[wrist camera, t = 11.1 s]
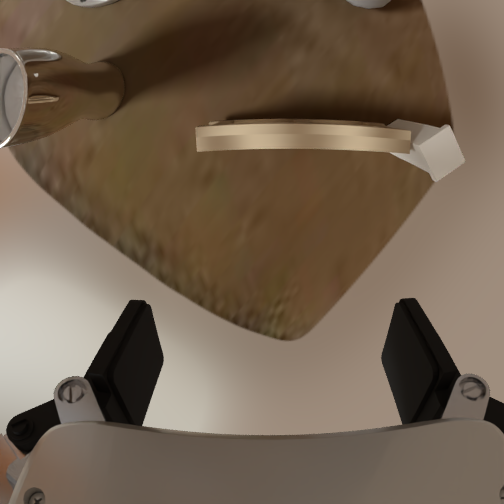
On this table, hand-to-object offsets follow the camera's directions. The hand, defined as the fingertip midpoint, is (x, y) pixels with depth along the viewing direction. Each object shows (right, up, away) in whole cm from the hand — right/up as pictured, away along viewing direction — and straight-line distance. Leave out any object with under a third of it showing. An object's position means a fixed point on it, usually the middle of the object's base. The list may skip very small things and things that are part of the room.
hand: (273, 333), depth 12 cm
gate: (+3, +14, +15) cm, 21 cm away
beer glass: (-16, +19, +14) cm, 29 cm away
